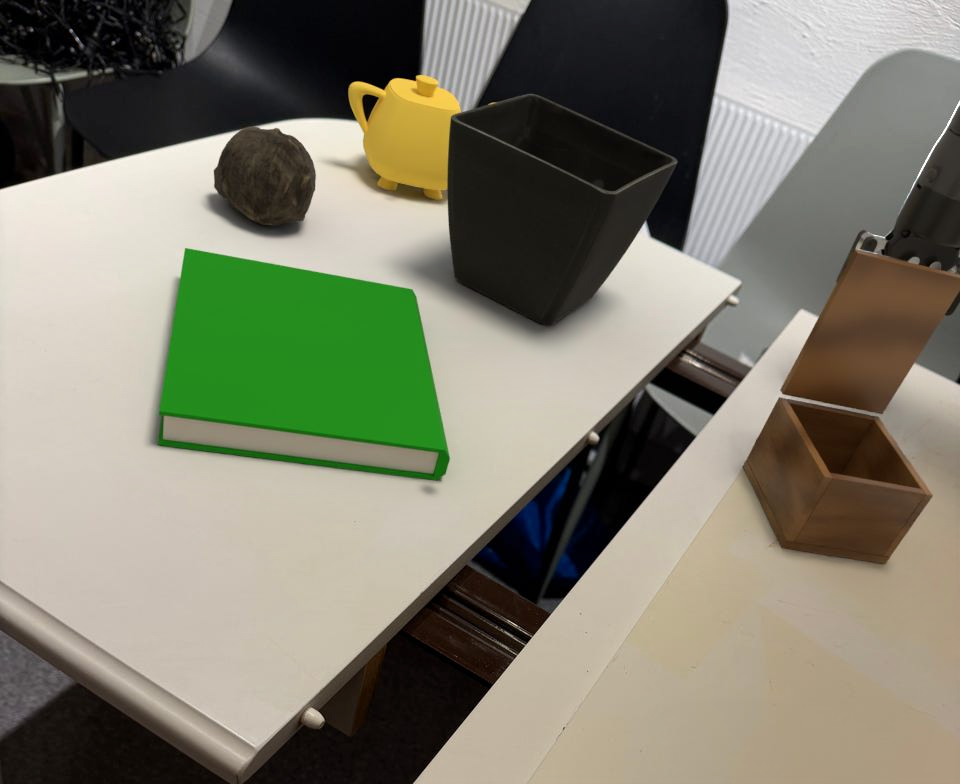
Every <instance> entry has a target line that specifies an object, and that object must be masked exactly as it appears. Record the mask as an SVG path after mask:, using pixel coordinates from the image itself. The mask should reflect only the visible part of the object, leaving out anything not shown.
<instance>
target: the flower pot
mask: <svg viewBox="0 0 960 784" xmlns="http://www.w3.org/2000/svg"><path fill="white" fill-rule="evenodd" d="M492 103H493V104H491V103H488V104H485V105H483V106H479V107H477V108H472V109H469V110H468V109H467V110H464V111H461V113H458V114H454V115H452V116H451V121H450V132H449V148H448V175H447V190H446V191H447V192H446V193H447V195H446V196H447V219H448V220H447V221H448V232H449V233H448V234H449V244H450V252H451V262H452V268H453V275H454V278H455V279H456V280H457V282H460V283H461V284H464V285H466V286H467V287H469V288H471V289H473V290H475V291H477V292H478V293H481V294H483V295H484V296H486V297H488V298H490V299H492V300H494V301H496V302H498V303H500V304H502V305H504V306H505V307H507V308H510V309H511V310H514V311H515V312H517V313H519V314H521V315H523V316H524V317H527V318H529V319H531V320H533V321H535V322H537V323H539V324H540V325H545V326H551V325H554V324H555V323H557V322H558V321H559V320H561V319H562V318H564V317H565V316H567V315H568V314H570V313H572V312H573V311H575V310H576V309H577V308H579V307H580V306H582V305H583V304H585V303H586V302H589V301H590V300H591V299H593V297H594V296H595V295H596V294H597V293H598V291H599V290H600V289H601V287H602V286H603V285H604V284H605V282H606V281H607V279H608V278H609V277H610V275H611V274H612V272H613V271H614V270H615V268H616V267H617V265H618V264H619V263H620V261H621V260H622V258H623V257H624V256H625V254H626V253H627V251H628V250H629V248H630V247H631V245H632V243H634V240H635V239H636V237H637V236H638V234H639V232H640V231H641V229H642V227H643V226H644V224H645V223H646V221H647V219H648V218H649V216H650V214H651V212H652V211H653V209H654V208H655V206H656V204H657V202H658V200H659V199H660V197H661V195H662V193H663V191H664V190H665V187H666V186H667V184H668V182H669V180H670V178H671V176H672V174H673V173H674V170H675V168H676V166H677V164H678V160H677V158H675V157H674V156H673V155H670V154H668V153H665V152H664V151H662V150H660V149H657V148H655V147H653V146H651V145H648V144H646V143H644V142H642V141H640V140H638V139H635V138H633V137H632V136H629V135H627V134H625V133H623V132H621V131H618V130H616V129H614V128H611V127H610V126H607V125H605V124H603V123H601V122H598V121H596V120H594V119H592V118H590V117H587V116H585V115H583V114H581V113H578V112H577V111H574V110H572V109H570V108H567V107H566V106H563V105H561V104H558V103H557V102H554V101H552V100H550V99H548V98H545V97H543V96H542V95H541V96H540V95H538V94H534V93H527V94H522V95H518V96H514V97H511V98H508V99H504V100H501V101H497V103H495V102H492Z"/></svg>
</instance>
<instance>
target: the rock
mask: <svg viewBox="0 0 960 784" xmlns="http://www.w3.org/2000/svg"><path fill="white" fill-rule="evenodd" d="M315 168H316V167H315V164H314V160H313V159H312V157H311V154H310V153H309V151H308V150H307V149H306V147H305V146H304V145H303V143H302V142H301V141H299V139H298V138H296V137H295V136H293V135H291V134H286V133H283V132H282V131H281V129H280V128H278V127H274V128H271V129H265V128H260V127H258V126H254V125H253V126H248V127H244V128H242V129H240V130H239V131H238V132H236V133H235V134H234V135H233V136H232V137H231V138H230V139H229V140H228V141H227V142H226V144H225V146H224V148H223V149H222V151H221V153H220V156H219V159H218V162H217V166H216V167H214V169H213V182H214V183H213V188H214V189H215V190H216V192H217V193H218V194H219V195H220V196H221V197H222V198H223V199H224V200H226V202H227V203H228V205H230V206H231V207H232V208H233V209H234V210H236V211H238V212H240V213H241V214H242V215H244V216H245V217H247V218H248V219H249V220H251V221H253V222H255V223H257V224H260V225H263V226H273V227H279V226H282V225H283V224H286V223H293V222H303V221H304V220H305V219H306V214H307V213H308V211H309V209H310V207H311V204H312V200H313V197H314V193H315V191H316V179H317V173H316V169H315Z"/></svg>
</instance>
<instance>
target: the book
mask: <svg viewBox="0 0 960 784" xmlns="http://www.w3.org/2000/svg"><path fill="white" fill-rule="evenodd" d="M177 290H178V291H177V297H176V303H175V308H174V315H173V322H172V327H171V335H170V340H169V347H168V353H167V359H166V364H165V365H166V366H165V371H164V379H163V385H162V391H161V396H160V402H159V409H158V416H161V419H160V420H161V421H160V427H159V432H158V439H157V445H158V446H163V447H172V448H179V449H186V450H194V451H203V452H210V453H219V454H227V455H234V456H243V457H249V458H258V459H266V460H274V461H282V462H289V463H297V464H305V465H312V466H320V467H321V466H322V467H328V468H338V469H345V470H346V469H347V470H350V471H351V470H353V471H360V472H366V473H367V472H369V473H375V474H382V475H383V474H385V475H392V476H400V477H408V478H417V479H423V480H431V481H438V480H440V479H441V478H442V477H444V476H445V475H446V474H447V470H448V467H449V464H450V460H451V457H450V452H449V447H448V442H447V438H446V433H445V428H444V423H443V418H442V413H441V408H440V404H439V398H438V395H437V390H436V384H435V380H434V375H433V370H432V364H431V360H430V355H429V351H428V346H427V341H426V336H425V331H424V327H423V322H422V317H421V313H420V308H419V303H418V298H417V295H416V293H415V291H414V290H413V288H408V287H403V286H398V285H392V284H387V283H386V284H385V283H380V282H375V281H370V280H364V279H358V278H353V277H349V276H348V277H347V276H342V275H337V274H331V273H325V272H319V271H314V270H308V269H304V268H298V267H292V266H287V265H281V264H276V263H270V262H265V261H259V260H254V259H249V258H242V257H237V256H232V255H228V254H227V255H226V254H220V253H215V252H210V251H206V250H205V251H204V250H200V249H193V248H187V247H185V248H184V253H183V259H182V264H181V271H180V276H179V284H178V289H177Z"/></svg>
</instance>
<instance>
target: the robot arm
mask: <svg viewBox="0 0 960 784" xmlns="http://www.w3.org/2000/svg"><path fill="white" fill-rule="evenodd" d="M949 119H950V120H949V121H948V123H947V126H946V127H945V129H944V130H943V132H942V134H941V135H940V137H939V138H938V139H937V141H936V143H935V144H934V145H933V147H932V149H931V151H930V153H929V154H928V156H927V158H926V160H925V162H924V164H923V166H922V167H921V169H920V171H919V173H918V175H917V177H916V179H915V181H914V183H913V185H912V187H911V189H910V191H909V192H908V194H907V197H906V198H905V200H904V202H903V204H902V205H901V208H900V210H899V212H898V214H897V216H896V220H895V224H894V226H893V228H892V229H891V230H890V231H889V232H888V233H887V234H886V235H885V236H881V235H875V234H872V233H871V232H870V231H868V230H867V229H862V230H860V231H859V232H858V233H857V235H856V237H855V239H854V241H853V244H852V246H851V248H850V250H849V252H848V254H847V257H846V259H845V261H844V263H843V265H842V267H841V269H840V271H839V273H838V275H837V277H836V281H835V282H836V283H837V282H838V280H839V278H840V276H841V274H842V273H843V271H844V269H845V267H846V265H847V263H848V261H849V259H850V257H851V255H852V254H853V252H854V250H855V249H856V250H858V249H860V250H864V251H868V252H872V253H876V254H878V252H879V251H880V253H881V254H880V255H885V256H889V257H893V258H897V259H901V260H905V261H908V262H909V263H913V264H917V265H922V266H926V267H930V268H934V269H938V270H942V271H946V272H949V271H950V273H954V274H959V275H960V101H959V102H958V104H957V106H956V108H955V110H954V112H953V114H952V116H951V118H949ZM959 305H960V291H959V293H958V294H957V296H956V297H955V299H954V301H953V302H952V304H951V305H950V307H949V309H948V310H947V312H946V313H945V315H944V316H947V317H949V316H952V315H953V314H954V313H955V311H956V310H957V308H958V306H959Z"/></svg>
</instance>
